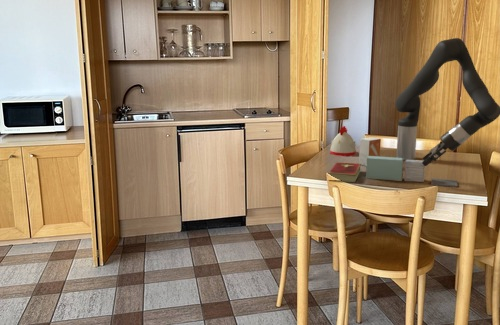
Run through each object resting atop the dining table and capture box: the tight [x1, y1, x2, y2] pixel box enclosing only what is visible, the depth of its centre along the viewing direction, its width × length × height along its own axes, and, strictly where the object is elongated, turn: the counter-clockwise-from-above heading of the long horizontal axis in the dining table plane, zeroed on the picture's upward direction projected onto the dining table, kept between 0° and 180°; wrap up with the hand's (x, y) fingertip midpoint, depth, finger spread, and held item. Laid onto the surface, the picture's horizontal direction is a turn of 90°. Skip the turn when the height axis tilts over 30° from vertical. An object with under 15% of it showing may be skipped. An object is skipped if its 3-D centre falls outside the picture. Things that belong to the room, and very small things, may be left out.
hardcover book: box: [327, 161, 362, 183], centre depth 215 cm, size 12×21×4 cm, turn 161°
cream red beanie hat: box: [329, 125, 357, 157], centre depth 260 cm, size 14×14×15 cm
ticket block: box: [365, 156, 405, 182], centre depth 209 cm, size 5×15×9 cm, turn 69°
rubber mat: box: [430, 177, 458, 188], centre depth 201 cm, size 9×10×1 cm
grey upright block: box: [404, 159, 426, 183], centre depth 205 cm, size 8×4×9 cm, turn 71°
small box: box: [358, 136, 382, 167], centre depth 234 cm, size 8×6×13 cm
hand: (423, 162), depth 203 cm, fingers open, 8 cm apart
